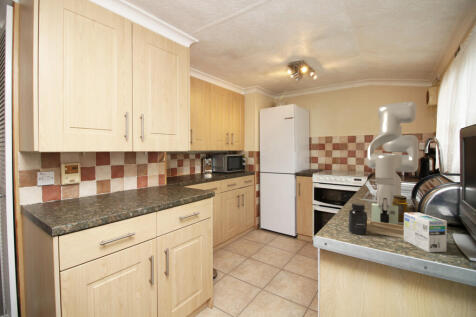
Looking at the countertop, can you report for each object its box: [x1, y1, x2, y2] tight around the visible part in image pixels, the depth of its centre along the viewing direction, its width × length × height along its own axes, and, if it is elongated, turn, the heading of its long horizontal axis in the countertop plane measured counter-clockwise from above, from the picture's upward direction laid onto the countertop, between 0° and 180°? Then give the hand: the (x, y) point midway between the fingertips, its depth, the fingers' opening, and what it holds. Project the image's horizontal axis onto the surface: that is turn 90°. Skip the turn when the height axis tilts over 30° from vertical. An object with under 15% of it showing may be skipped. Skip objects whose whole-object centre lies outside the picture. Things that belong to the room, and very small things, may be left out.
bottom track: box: [367, 219, 404, 239], centre depth 92 cm, size 7×14×3 cm, turn 58°
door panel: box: [370, 203, 399, 225], centre depth 101 cm, size 3×10×9 cm, turn 58°
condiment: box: [392, 195, 409, 225], centre depth 107 cm, size 7×8×12 cm
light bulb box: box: [403, 212, 448, 253], centre depth 79 cm, size 11×7×11 cm, turn 5°
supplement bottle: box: [347, 202, 368, 236], centre depth 92 cm, size 7×7×12 cm
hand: (384, 221), depth 101 cm, fingers closed on door panel, 3 cm apart
